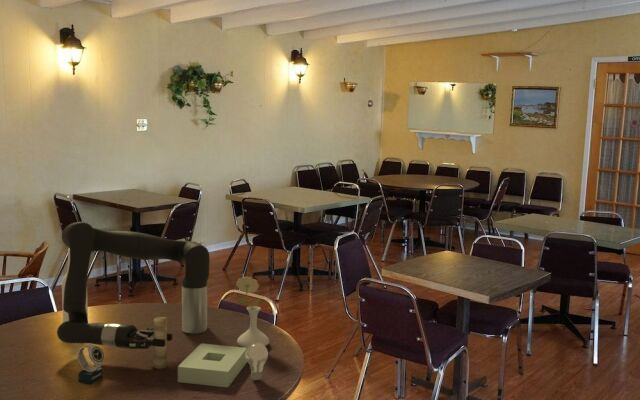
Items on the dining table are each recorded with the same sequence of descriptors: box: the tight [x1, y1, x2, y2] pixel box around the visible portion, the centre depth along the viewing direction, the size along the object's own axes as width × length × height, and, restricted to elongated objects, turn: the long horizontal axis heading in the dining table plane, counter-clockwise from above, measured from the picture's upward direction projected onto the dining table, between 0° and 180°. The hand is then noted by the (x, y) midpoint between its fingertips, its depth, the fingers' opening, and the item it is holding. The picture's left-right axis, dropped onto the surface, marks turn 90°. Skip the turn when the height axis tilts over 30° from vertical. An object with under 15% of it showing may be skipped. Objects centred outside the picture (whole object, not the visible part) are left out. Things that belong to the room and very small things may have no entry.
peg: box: [153, 316, 168, 370], centre depth 209 cm, size 4×4×16 cm
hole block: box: [177, 343, 248, 388], centre depth 207 cm, size 20×16×5 cm
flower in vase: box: [235, 275, 270, 348], centre depth 229 cm, size 13×11×25 cm
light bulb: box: [246, 343, 269, 382], centre depth 201 cm, size 7×7×12 cm
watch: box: [77, 343, 105, 386], centre depth 198 cm, size 6×8×11 cm
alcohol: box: [61, 247, 89, 323], centre depth 243 cm, size 9×9×30 cm
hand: (168, 340), depth 209 cm, fingers open, 5 cm apart
